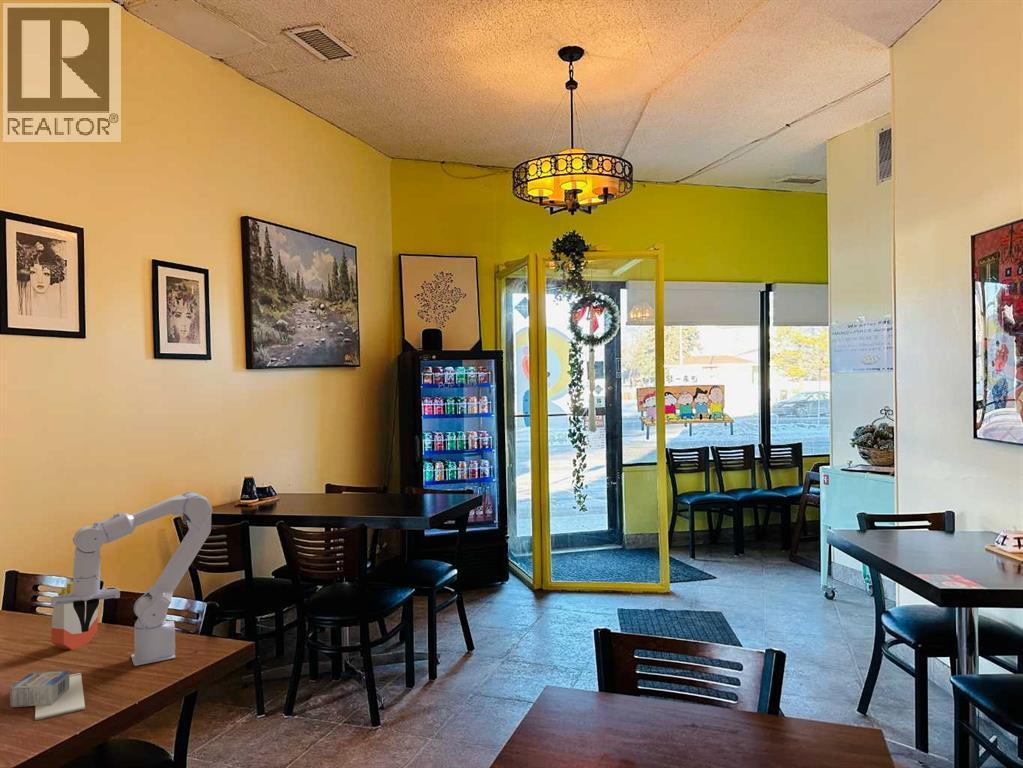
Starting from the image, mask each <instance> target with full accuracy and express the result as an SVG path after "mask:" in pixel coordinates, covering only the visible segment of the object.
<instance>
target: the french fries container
mask: <svg viewBox="0 0 1023 768" xmlns="http://www.w3.org/2000/svg"><path fill="white" fill-rule="evenodd" d="M69 593H73V581H72V582H68V583H66V587H65V588H63V587H62V588H61V591H59V592H57V596H59V595H64V594H69ZM52 607H53V608H52V616H51V617H52V619H51V631H50V632H51V634H50V635H51V639H50V640H51V641H50V642H51V643H50V644H53V645H54V646H56V647H57V648H60V649H65V650H72V651H73V650H76V649H78V648H79V647H82V646H85V645H87V644H89V643H90V642H91V641H92V639H93V638H94V636H95V635H96V634H97V632H98V630H99V628H98V627H99V606H98V607H97V609H96V610H95V612H94V614H93V616H92V619H91V621H90V625H89V629H88V631H87V632H81V624H80V620H79V618H78V615H77V613H76V611H75V609H74V607H73V603H69V604H61V605H56V606H52ZM85 619H86V601H85Z"/></svg>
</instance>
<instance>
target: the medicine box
mask: <svg viewBox="0 0 1023 768" xmlns="http://www.w3.org/2000/svg"><path fill="white" fill-rule="evenodd" d="M69 675H70V671H69V670H65V671H47V672H31V673H29V674H27V675H25V677H23V678H22V679H20V681H18V682H17V683H15V684H14V685H13V686H11V687H10V693H9V697H10V698H9V699H10V707H11V708H18V707H20V708H21V707H33V706H34V707H36V705H50V704H53V703H54V702H55V701H56V700H57V699H58V698H59V697H60V696H62V695H63V694H64V693H65V692H66V691H67V690H69Z"/></svg>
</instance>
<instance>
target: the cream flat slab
mask: <svg viewBox="0 0 1023 768" xmlns="http://www.w3.org/2000/svg"><path fill="white" fill-rule="evenodd" d="M85 704H86V703H85V694H84V686H83V678H82V672H78V673H73V674H69V690H67V691H66V692H65V693H64V694H63V695H62V696H60V697H59V698H58V699H57V700H56V701H55V702H54V703H53V704H50V705H36V706H35V713H34V714H35V715H34V721H40V720H44V719H48V718H53V717H57V716H62V715H67V714H71V713H75V712H79V711H84V710H86V705H85Z"/></svg>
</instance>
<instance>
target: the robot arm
mask: <svg viewBox="0 0 1023 768" xmlns="http://www.w3.org/2000/svg"><path fill="white" fill-rule="evenodd" d="M212 513H213V507H212V504H211V502H210V500H209V498H208V497H206V496H204V495H201V494H199V493H197V492H196V491H186V492H185V493H182V494H177V495H174V496H171V497H169V498H167V499H164V500H162V501H160V502H158V503H155V504H153V505H151V506H149V507H146V508H144V509H141V510H140V511H137V512H135V513H133V514H129V513H127V512H121V513H120V512H116V513H113V514H112V515H113V517H110V518H106V519H103V520H102V521H99V522H98V521H97V520H96V521H94V522H92V525H91V526H90V525H86V526H82V527H80V528H79V529H77V531H76V532H75V534H74V535H73V537H72V542H73V544H74V546H75V549H74V558H73V569H72V571H73V573H72V574H73V577H72V583H73V593H69V594H64V595H59V596H58V595H54V596H53V595H52V596H50V607H53V606H56V605H61V604H69V603H73V607H74V609H75V611H76V613H77V615H78V618H79V620H80V624H81V632H87V631H88V629H89V625H90V621H91V619H92V616H93V614H94V612H95V610H96V609H97V607H98V608H99V604H100V602H99V601H100V600H107V599H120V597H121V589H120V588H110V589H108V588H107V589H101V567H102V566H101V564H102V562H101V561H102V556H101V548H102V547H103V545H104V544H105V545H106V544H110V543H112V542H114V541H117V540H119V539H122V538H124V537H126V536H128V535H132V534H133V533H134V532H135V530H136V528H137V527H138V526H140V525H144V524H146V523H149V522H152V521H155V520H157V519H160V518H163V517H166V516H168V515H172V516H179V517H184V519H185V521H186V524H187V527H188V531H187V533H186V534H185V536H184V537H183V539H182V541H181V542H180V543H179V545H178V546H177V548H176V550H175V551H174V553H173V554H172V556H171V557H170V559H169V561H168V562H167V564H166V566H165V568H164V569H163V570H162V572H161V573H160V575H159V577H158V578H157V580H156V582H155V583H154V584H152V585H151V586H150V587H149V588H147V591H146V592H145V593H144V594H143V595H141V596H140V597H139V598H138V599H137V600H136V601H135V603H134V605H133V612H134V615H135V616H136V617H137V619H136V621H135V622H134V644H133V645H134V648H133V649H134V650H133V651H134V653H133V654H131V655H130V657H131V660H132V664H133V665H134V667H136V666H140V665H146V664H152V663H156V662H162V661H166V660H172V659H175V658H176V628H175V627H176V626H175V621H174V620H167V619H166V618H167V615H168V608H169V607H170V605H171V603H172V601H173V600H172V598H173V594H174V592H175V590H176V589H177V587H178V585H179V584H180V583H181V580H182V579H183V577H184V575H185V574H186V572H187V571H188V570H189V567H191V565H192V563H193V562H194V560H195V558H196V557H197V555H198V553H199V552H200V550H201V548H202V547H203V545H204V543H205V542H206V541H207V539H208V538H209V535H210V534H211V531H212ZM85 601H86V619H85Z"/></svg>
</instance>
